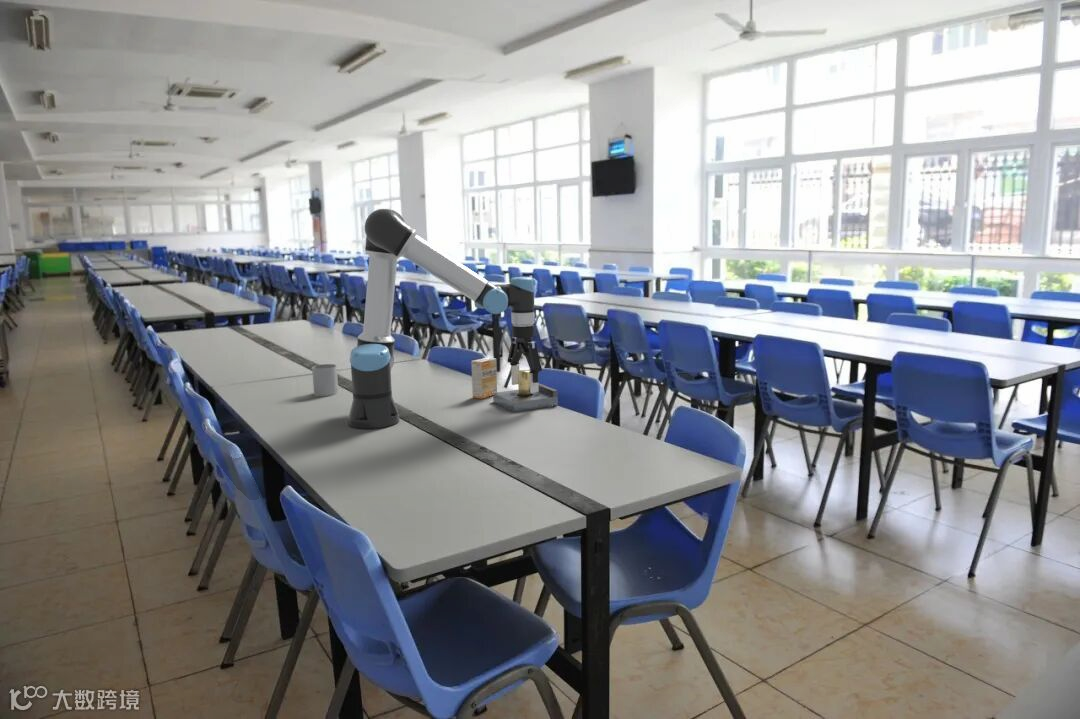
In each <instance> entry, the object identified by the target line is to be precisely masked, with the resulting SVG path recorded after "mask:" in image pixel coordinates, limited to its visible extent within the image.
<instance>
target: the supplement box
mask: <svg viewBox="0 0 1080 719" xmlns="http://www.w3.org/2000/svg"><path fill="white" fill-rule="evenodd" d="M497 375H498V374H497V358H494V357H484V358H480V359H479V358H478V359H475V360H471V385H472V386H471V389H472V391H471V393H472V398H474V399H481V400H483V399H486V398H490V397H493V396H492V395H493V393H497V392H498V378H497V377H498V376H497ZM489 396H490V397H489Z"/></svg>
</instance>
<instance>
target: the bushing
mask: <svg viewBox="0 0 1080 719" xmlns="http://www.w3.org/2000/svg"><path fill="white" fill-rule="evenodd" d="M530 371H531V370H530V369H519V371H518V384H517V385H518V390H519V396H520V397H528V396H532V393H530V373H529V372H530Z"/></svg>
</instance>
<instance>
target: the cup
mask: <svg viewBox="0 0 1080 719" xmlns="http://www.w3.org/2000/svg"><path fill="white" fill-rule="evenodd" d="M337 367H338V366H337V365H336V364H333V363H332V364H331V363H325V364H324V363H323V364H317V365H314V366H312V367H311V371H312V373H311V374H312V382H313V383H312V385H313V395H314V396H315V397H331V396H335V395H338V394H339V383H338V368H337Z"/></svg>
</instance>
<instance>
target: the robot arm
mask: <svg viewBox="0 0 1080 719" xmlns="http://www.w3.org/2000/svg"><path fill="white" fill-rule="evenodd" d="M364 233H365V245H364V248H365V250H364V251H365V253H366V255H368V258H369V259H368V272H367V280H366V281H367V282H366V283H367V284H366V292H365V294H366V297H365V305H364V306H365V307H364V315H363V316H364V317H363V318H364V319H363V328H362V329H363V330H362V333H360V334H359V335H358V336H357V344H356V347H355V346H354V348H352V350H350V354H349V356H350V357H349V363H350V369H351V371H350V372H351V387H352V403H351V407H350V411H349V414H348V425H349V426H350V427H352V428H355V429H362V430H363V429H365V430H369V429H370V430H371V429H381V428H387V427H391V426H393V425H397V424H398V423H400V413H399V410H398V408H397V405H396V403H395V400H394V398H393V393H392V392H393V391H392V390H393V389H392V369H393V366H394V363H395V357H394V354H395V353H394V352H395V340H396V339H395V338H394V337H393V336H392V335H391V331H392V323H393V322H392V320H393V312H394V311H393V309H394V301H395V300H394V299H395V288H396V279H397V267H398V260H399V258H402V257H403V258H405V259H406V260H407V261H409V262H411V263H413V264H415V265H416V266H418V267H419V268H420V269H423V270H424V271H425V272H427V273H428V274H430V275H432V276H433V277H435V278H437V279H438V280H440V281H441V282H443V283H444V284H445V285H447V286H449V287H451V288H452V289H454V290H455V291H457V292H459V293H460V294H462V295H463V296H465V297H467V298H468V299H470V300H471V301H472V302H474V303H473V304H474V307H475V308H476V309H484V310H486V312H488V313H490V314H493V315H498V314H501V313H504V312H505V310H507V308H510V309H511V314H510V315H511V317H510V318H511V324H512V326H511V336H512V337H511V338H510V341H511V342H510V347H509V351H508V357H507V363H509V365H510V370H511V371H510V373H511V375H510V376H511V386H515V385H516V386H517V385H518V371H520V360H521V357H522V355H523V356H524V357H525V358H526V361H527V362H526V363H527V364H528V367H529V370H531V371H530V372H529V373H530V393H534V392H539V389H538V383H539V373H540V372H542V371H543V367H542V363H541V359H540V354H539V352H538V342H537V341H532V338H533V337H535V336H536V327H535V325H534V324H535V317H536V314H535V288H534V279H533V278H532V277H528V276H519V277H518V276H517V277H516V276H515V277H511V278H510V282H509V283H506V284H505V283H504V284H493V283H491V282H490V281H488V280H487V279H485V278H484V277H482V276H480V275H479V274H477V273H476V272H474V271H473V270H471V269H470V268H468V267H467V266H466V265H463V263H460V262H459V261H458V260H456V259H454V258H453V257H451V256H450V255H448V254H447V253H446V252H444V251H442V250H440V249H439V248H437V247H436V246H434V245H433V244H432V243H430V242H429V241H427V240H425V239H424V238H422V237H421V236H419V235H418V234H417V230H416V229H415V228H413V227H411V226H410V225H409V224H407V223H406V222H405V219H404V218H403V217H402V215H401V214H400V213H399V212H398V211H395V210H393V209H391V208H390V209H389V208H379V209H375V210H374V211H372V212H371V213H370V214H369V215H368V216H367V218H366V219H365V223H364Z"/></svg>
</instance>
